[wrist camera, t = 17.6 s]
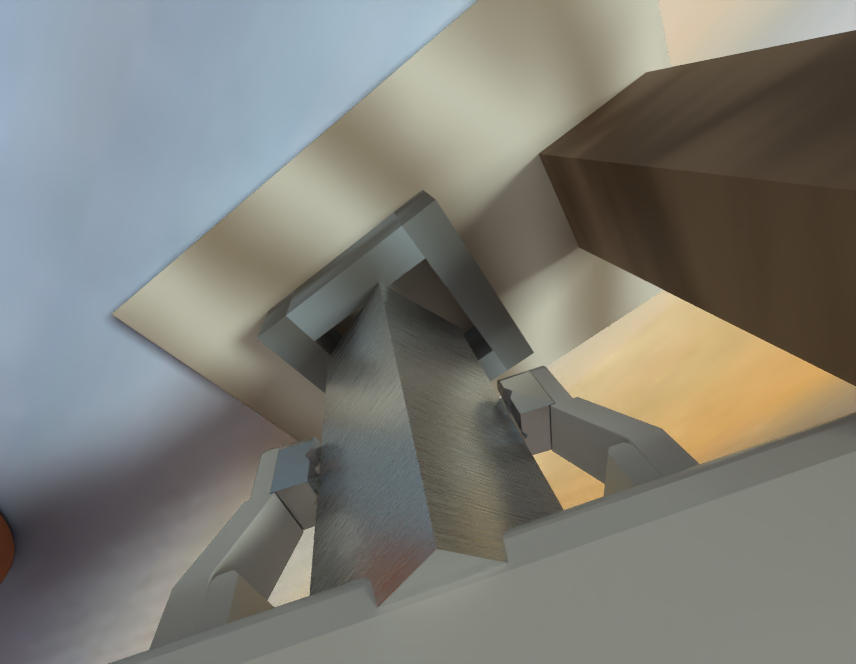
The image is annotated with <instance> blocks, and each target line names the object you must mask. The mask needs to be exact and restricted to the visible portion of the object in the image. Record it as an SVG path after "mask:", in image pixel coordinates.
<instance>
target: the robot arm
mask: <svg viewBox="0 0 856 664" xmlns="http://www.w3.org/2000/svg"><path fill="white" fill-rule="evenodd" d="M497 387H498V391H499V393H500V395H501V396H502V397H501V399H500V400H501V402H502V403H503V405H504V407H505V409H506V410H507V412H508V414H509V416H510V417H511V419H512V421H513V422H514V424H515V426H516V428H517V429H518V431H519V433H520V435H521V436H522V438H523V440H524V442H525V443H526V445H527V447H528V449H529V450H530V452H531V454H532V455H534V454H538V453H541V452H545V451H548V450H551V449H552V451H553V452H555V453H557V454H558V455H560V456H561V457H563V458H564V459H566V460H568V461H569V462H571V463H572V464H574V465H576V466H577V467H579V468H580V469H582V470H583V471H585V472H587V473H588V474H590V475H591V476H593V477H595V478H596V479H598V480H599V481H601V482H603V483H604V484H605V488H604V497H601V498H598V499H595V500H592V501H589V502H586V503H583V504H580V505H577V506H574V507H571V508H569V509H566V510H563V511H560V512H557V513H554V514H551V515H548V516H545V517H542V518H539V519H536V520H533V521H530V522H527V523H524V524H521V525H518V526H515V527H512V528H509V529H507V530H506V531H505V533H504V544H505V548H506V553H507V558H508V564H505V565H502V566H499V567H496V568H493V569H490V570H487V571H484V572H481V573H478V574H476V575H473V576H470V577H467V578H464V579H461V580H458V581H455V582H452V583H449V584H446V585H443V586H441V587H438V588H435V589H432V590H429V591H426V592H423V593H420V594H417V595H414V596H411V597H408V598H406V599H403V600H400V601H397V602H394V603H391V604H388V605H385V606H382V607H379V608H377V605H376V601H375V597H374V592H373V588H372V584H371V582H370V580H369V579H367V578H361V579H358V580H355V581H352V582H349V583H346V584H343V585H340V586H337V587H334V588H331V589H328V590H326V591H323V592H320V593H317V594H314V595H311V596H308V597H305V598H302V599H299V600H296V601H293V602H290V603H287V604H284V605H281V606H278V607H274V606H272V605H271V604H270V603H269V602H268V601H267V600H268V598H269V596H270V594H271V592H272V591H273V589H274V587H275V585H276V583H277V581H278V579H279V577H280V576H281V574H282V572H283V570H284V568H285V566H286V564H287V562H288V560H289V559H290V557H291V555H292V553H293V551H294V549H295V547H296V545H297V543H298V542H299V540H300V538H301V536H302V534H303V530H305V529H308V528H311V527H313V526H315V521H316V508H317V495H318V482H319V470H320V457H321V444H320V442H319V441H318V439H317V438H316V437H312V438H309V439H305V440H302V441H298V442H295V443H291V444H288V445H284V446H281V447H279V448H275V449H271V450H268V451H265V452H264V453H263V454H262V456H261V459H260V463H259V467H258V471H257V474H256V478H255V482H254V486H253V490H252V493H251V497H250V501H247V502H244V503H243V505H242V506H241V507H240V508H239V509H238V511H237V512H236V513H235V514H234V515H233V517H232V518H231V519H230V520H229V521H228V523H227V524H226V525H225V526H224V527H223V529H222V530H221V531H220V532H219V533H218V535H217V536H216V537H215V538H214V539H213V541H212V542H211V543H210V544H209V545H208V547H207V548H206V549H205V550H204V551H203V553H202V554H201V555H200V556H199V557H198V559H197V560H196V561H195V562H194V563H193V565H192V566H191V567H190V568H189V569H188V571H187V572H186V573H185V574H184V575H183V577H182V578H181V579H180V580H179V581H178V583H177V584H176V585H175V586H174V587H173V589H172V591H171V594H170V597H169V599H168V602H167V604H166V607H165V610H164V612H163V615H162V618H161V620H160V623H159V625H158V628H157V631H156V633H155V636H154V639H153V641H152V644H151V646H150V649H149V650H147V651H144V652H141V653H139V654H136V655H133V656H130V657H127V658H124V659H121V660H118V661H115V662H112V663H109V664H856V412H853V413H850V414H847V415H844V416H841V417H838V418H835V419H832V420H829V421H827V422H824V423H821V424H818V425H815V426H812V427H809V428H806V429H803V430H800V431H797V432H794V433H791V434H788V435H785V436H782V437H779V438H776V439H773V440H770V441H767V442H764V443H761V444H758V445H755V446H753V447H750V448H747V449H744V450H741V451H738V452H735V453H732V454H729V455H726V456H723V457H720V458H717V459H714V460H711V461H708V462H705V463H702V464H699V463H698V462H697V461H696V460H695V459H694V458H692V457H691V456H690V455H689V454H688V453H687V452H686V451H685V450H684V449H683V448H682V447H681V446H680V445H679V444H678V443H677V442H676V441H674V440H673V439H672V438H671V437H670V436H669V435H668V434H667V433H666V432H665V431H664V430H663V429H661V428H659V427H656V426H653V425H651V424H648V423H645V422H643V421H640V420H637V419H635V418H632V417H629V416H627V415H624V414H622V413H619V412H616V411H614V410H611V409H608V408H606V407H603V406H600V405H598V404H595V403H592V402H590V401H587V400H584V399H582V398H579V397H576V398H572V397H571V396H570V394H569V393H568V392H567V391H566V390H565V389H564V387H563V386H562V385H561V384H560V383H559V382H558V380H557V379H556V378H555V377H554V376H553V375H552V374H551V372H550V371H549V370H548V369H547V368H546V367H545V366H540V367H537V368H534V369H531V370H528V371H525V372H522V373H519V374H516V375H513V376H509V377H506V378H503V379H500V380H497Z"/></svg>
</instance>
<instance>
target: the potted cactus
mask: <svg viewBox="0 0 856 664" xmlns="http://www.w3.org/2000/svg"><path fill="white" fill-rule="evenodd" d="M14 554H15V545H14V541H13V536H12V533H11V531H10V529H9V526H8V524H7V523H6V521H5V519H4V518H3V516H2V515H1V514H0V584H1V583H2V581H3V580H4V578H5V577H6V575H7V573H8V571H9V570H10V568H11V566H12V563H13V559H14Z"/></svg>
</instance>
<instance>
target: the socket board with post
mask: <svg viewBox="0 0 856 664" xmlns="http://www.w3.org/2000/svg"><path fill="white" fill-rule="evenodd" d="M379 282H380V283H382V284H383V285H385V286H387V287H389V288H390V289H392V290H394V291H396V292H398V293H399V294H401V295H403V296H405V297H406V298H408V299H410V300H412V301H413V302H415V303H417V304H419V305H421V306H422V307H424V308H426V309H428V310H429V311H431V312H433V313H435V314H436V315H438V316H440V317H442V318H444V319H445V320H447V321H449V322H451V323H452V324H454V325H456V326H458V327H459V328H460V330H461V332H462V334H463V335H464V337H465V339H466V341H467V342H468V344H469V346H470V348H471V349H472V351H473V353H474V355H475V356H476V358H477V360H478V362H479V363H480V365H481V367H482V368H483V370H484V372H485V374H486V375H487V377H488V379H489V381H490V382H491V384H492V386H493V388H494V389H495V391H496V393H497V395H498V396H499V397H500V396H501V395H500V393H499V391H498V387H497V380H500V379H503V378H506V377H509V376H513V375H516V374H519V373H522V372H525V371H528V370H531V369H534V368H537V367H540V366H545V367H546V366H548V365H549V364H551V363H552V362H554V361H555V360H557V359H559V358H560V357H562V356H563V355H565V354H566V353H568V352H569V351H571V350H572V349H574V348H575V347H577V346H578V345H580V344H582V343H583V342H585V341H586V340H588V339H589V338H591V337H592V336H594V335H595V334H597V333H598V332H600V331H601V330H603V329H604V328H606V327H608V326H609V325H611V324H612V323H614V322H615V321H617V320H618V319H620V318H621V317H623V316H624V315H626V314H627V313H629V312H631V311H632V310H634V309H635V308H637V307H638V306H640V305H641V304H643V303H644V302H646V301H647V300H649V299H650V298H652V297H654V296H655V295H657V294H658V293H660V292H661V291H663V290H665V291H667V292H669V293H671V294H673V295H675V296H677V297H679V298H681V299H683V300H685V301H687V302H689V303H691V304H693V305H695V306H697V307H699V308H701V309H703V310H705V311H707V312H709V313H711V314H713V315H715V316H717V317H719V318H721V319H723V320H725V321H727V322H729V323H731V324H733V325H735V326H737V327H739V328H741V329H743V330H745V331H747V332H749V333H751V334H753V335H755V336H757V337H759V338H761V339H763V340H765V341H767V342H769V343H771V344H773V345H775V346H777V347H779V348H781V349H783V350H785V351H787V352H789V353H791V354H793V355H795V356H797V357H799V358H801V359H803V360H805V361H807V362H809V363H811V364H812V365H814V366H816V367H818V368H820V369H822V370H824V371H826V372H828V373H830V374H832V375H834V376H836V377H838V378H840V379H842V380H844V381H846V382H848V383H850V384H852V385H854V386H856V30H854V31H849V32H844V33H839V34H834V35H829V36H824V37H819V38H814V39H809V40H804V41H799V42H794V43H790V44H785V45H780V46H775V47H770V48H765V49H760V50H755V51H750V52H745V53H740V54H735V55H730V56H725V57H720V58H715V59H710V60H705V61H700V62H695V63H690V64H685V65H680V66H675V67H671V62H670V57H669V52H668V47H667V42H666V37H665V32H664V27H663V22H662V17H661V12H660V7H659V2H658V0H478V1H477V2H476V3H474V4H473V5H472V6H471V7H470V8H469V9H467V10H466V11H465V12H464V13H463V14H462V15H460V16H459V17H458V18H457V19H456V20H455V21H453V22H452V23H451V24H450V25H449V26H448V27H446V28H445V29H444V30H443V31H442V32H441V33H439V34H438V35H437V36H436V37H435V38H434V39H432V40H431V41H430V42H429V43H428V44H427V45H425V46H424V47H423V48H422V49H421V50H420V51H418V52H417V53H416V54H415V55H414V56H412V57H411V58H410V59H409V60H408V61H407V62H405V63H404V64H403V65H402V66H401V67H400V68H398V69H397V70H396V71H395V72H394V73H393V74H391V75H390V76H389V77H388V78H387V79H386V80H384V81H383V82H382V83H381V84H380V85H379V86H377V87H376V88H375V89H374V90H373V91H372V92H370V93H369V94H368V95H367V96H366V97H365V98H363V99H362V100H361V101H360V102H359V103H358V104H356V105H355V106H354V107H353V108H352V109H351V110H349V111H348V112H347V113H346V114H345V115H344V116H342V117H341V118H340V119H339V120H338V121H337V122H335V123H334V124H333V125H332V126H331V127H330V128H328V129H327V130H326V131H325V132H324V133H323V134H321V135H320V136H319V137H318V138H317V139H316V140H314V141H313V142H312V143H311V144H310V145H309V146H307V147H306V148H305V149H304V150H303V151H302V152H300V153H299V154H298V155H297V156H296V157H295V158H293V159H292V160H291V161H290V162H289V163H288V164H286V165H285V166H284V167H283V168H282V169H281V170H279V171H278V172H277V173H276V174H275V175H274V176H272V177H271V178H270V179H269V180H268V181H267V182H265V183H264V184H263V185H262V186H261V187H260V188H258V189H257V190H256V191H255V192H254V193H253V194H251V195H250V196H249V197H248V198H247V199H246V200H244V201H243V202H242V203H241V204H240V205H239V206H237V207H236V208H235V209H234V210H233V211H232V212H230V213H229V214H228V215H227V216H226V217H225V218H223V219H222V220H221V221H220V222H219V223H218V224H216V225H215V226H214V227H213V228H212V229H211V230H209V231H208V232H207V233H206V234H205V235H204V236H202V237H201V238H200V239H199V240H198V241H197V242H195V243H194V244H193V245H192V246H191V247H190V248H188V249H187V250H186V251H185V252H184V253H182V254H181V255H180V256H179V257H178V258H177V259H175V260H174V261H173V262H172V263H171V264H170V265H168V266H167V267H166V268H165V269H164V270H163V271H161V272H160V273H159V274H158V275H157V276H156V277H154V278H153V279H152V280H151V281H150V282H149V283H147V284H146V285H145V286H144V287H143V288H142V289H140V290H139V291H138V292H137V293H136V294H135V295H133V296H132V297H131V298H130V299H129V300H128V301H126V302H125V303H124V304H123V305H122V306H121V307H119V308H118V309H117V310H116V311H115V312H114V313H112V315H114V316H115V317H116V318H118V319H119V320H121V321H122V322H124V323H125V324H127V325H128V326H130V327H131V328H133V329H134V330H136V331H137V332H139V333H140V334H142V335H143V336H145V337H146V338H148V339H149V340H150V341H152V342H153V343H155V344H156V345H158V346H159V347H161V348H162V349H164V350H165V351H167V352H168V353H170V354H171V355H173V356H174V357H176V358H177V359H179V360H180V361H182V362H183V363H184V364H186V365H187V366H189V367H190V368H192V369H193V370H195V371H196V372H198V373H199V374H201V375H202V376H204V377H205V378H207V379H208V380H210V381H211V382H213V383H214V384H216V385H217V386H218V387H220V388H221V389H223V390H224V391H226V392H227V393H229V394H230V395H232V396H233V397H235V398H236V399H238V400H239V401H241V402H242V403H244V404H245V405H247V406H248V407H250V408H251V409H252V410H254V411H255V412H257V413H258V414H260V415H261V416H263V417H264V418H266V419H267V420H269V421H270V422H272V423H273V424H275V425H276V426H278V427H279V428H281V429H282V430H284V431H285V432H287V433H288V434H289V435H291V436H292V437H294V438H295V439H297V440H298V441H302V440H305V439H309V438H312V437H316V438H317V439H318V441H319V442H320V444H322V431H323V418H324V405H325V393H326V380H327V367H328V359H329V357H330V356H331V354H332V353H333V351H334V350H335V348H336V347H337V345H338V344H339V342H340V341H341V339H342V338H343V336H344V335H345V333H346V331H347V330H348V328H349V327H350V325H351V324H352V322H353V321H354V319H355V318H356V316H357V315H358V313H359V312H360V310H361V309H362V307H363V305H364V304H365V302H366V301H367V299H368V298H369V296H370V295H371V293H372V292H373V290H374V289H375V287H376V286H377V284H378V283H379Z"/></svg>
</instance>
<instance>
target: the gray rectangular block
mask: <svg viewBox="0 0 856 664" xmlns="http://www.w3.org/2000/svg"><path fill="white" fill-rule="evenodd" d="M560 511H563V508H562V506H561V504H560V503H559V501H558V499H557V497H556V496H555V494H554V492H553V490H552V489H551V487H550V485H549V483H548V482H547V480H546V478H545V477H544V475H543V473H542V471H541V470H540V468H539V466H538V464H537V463H536V461H535V459H534V457H533V456H532V454H531V452H530V450H529V449H528V447H527V445H526V443H525V442H524V440H523V438H522V436H521V435H520V433H519V431H518V429H517V428H516V426H515V424H514V422H513V421H512V419H511V417H510V416H509V414H508V412H507V410H506V409H505V407H504V405H503V403H502V402H501V400H500V398H499V396H498V395H497V393H496V391H495V389H494V388H493V386H492V384H491V382H490V381H489V379H488V377H487V375H486V374H485V372H484V370H483V368H482V367H481V365H480V363H479V362H478V360H477V358H476V356H475V355H474V353H473V351H472V349H471V348H470V346H469V344H468V342H467V341H466V339H465V337H464V335H463V334H462V332H461V330H460V328H459V327H458V326H456V325H454V324H452V323H451V322H449V321H447V320H445V319H444V318H442V317H440V316H438V315H436V314H435V313H433V312H431V311H429V310H428V309H426V308H424V307H422V306H421V305H419V304H417V303H415V302H413V301H412V300H410V299H408V298H406V297H405V296H403V295H401V294H399V293H398V292H396V291H394V290H392V289H390V288H389V287H387V286H385V285H383V284H382V283H380V282H379V283H378V284H377V286H376V287H375V289H374V290H373V292H372V293H371V295H370V296H369V298H368V299H367V301H366V302H365V304H364V305H363V307H362V309H361V310H360V312H359V313H358V315H357V316H356V318H355V319H354V321H353V322H352V324H351V325H350V327H349V328H348V330H347V331H346V333H345V335H344V336H343V338H342V339H341V341H340V342H339V344H338V345H337V347H336V348H335V350H334V351H333V353H332V354H331V356H330V357H329V359H328V367H327V380H326V393H325V405H324V418H323V431H322V444H321V457H320V470H319V482H318V495H317V508H316V521H315V534H314V546H313V559H312V572H311V585H310V596H311V595H314V594H317V593H320V592H323V591H326V590H328V589H331V588H334V587H337V586H340V585H343V584H346V583H349V582H352V581H355V580H358V579H361V578H367V579H369V580H370V582H371V584H372V588H373V592H374V597H375V601H376V605H377V608H379V607H382V606H385V605H388V604H391V603H394V602H397V601H400V600H403V599H406V598H408V597H411V596H414V595H417V594H420V593H423V592H426V591H429V590H432V589H435V588H438V587H441V586H443V585H446V584H449V583H452V582H455V581H458V580H461V579H464V578H467V577H470V576H473V575H476V574H478V573H481V572H484V571H487V570H490V569H493V568H496V567H499V566H502V565H505V564H508V558H507V553H506V548H505V544H504V533H505V531H506V530H507V529H509V528H512V527H515V526H518V525H521V524H524V523H527V522H530V521H533V520H536V519H539V518H542V517H545V516H548V515H551V514H554V513H557V512H560Z"/></svg>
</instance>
